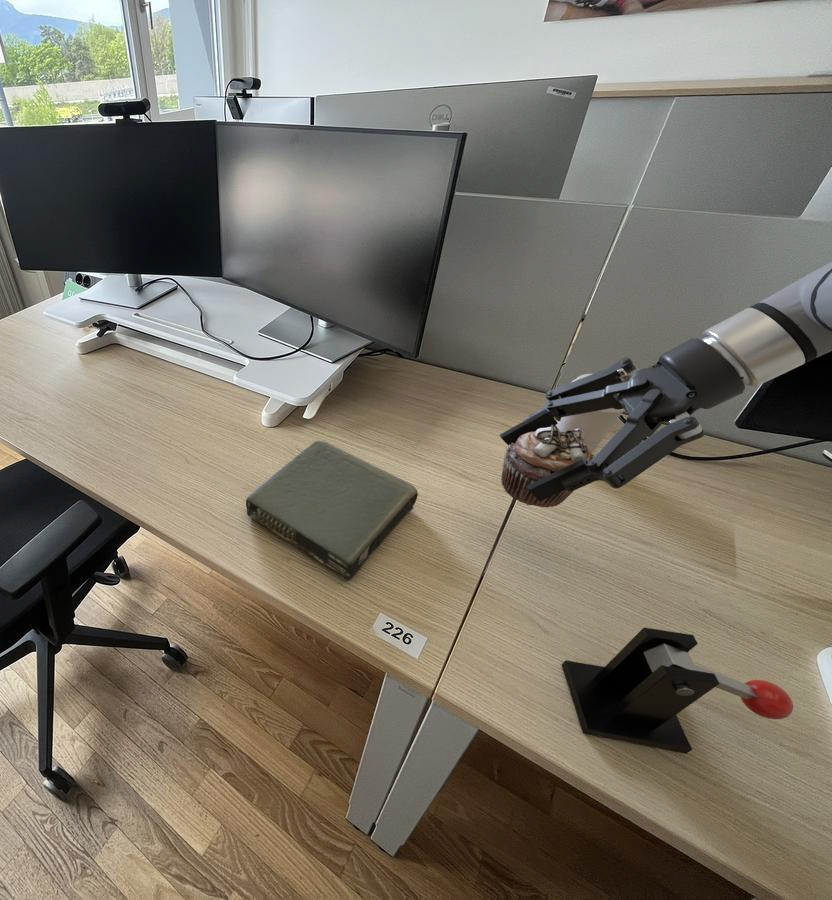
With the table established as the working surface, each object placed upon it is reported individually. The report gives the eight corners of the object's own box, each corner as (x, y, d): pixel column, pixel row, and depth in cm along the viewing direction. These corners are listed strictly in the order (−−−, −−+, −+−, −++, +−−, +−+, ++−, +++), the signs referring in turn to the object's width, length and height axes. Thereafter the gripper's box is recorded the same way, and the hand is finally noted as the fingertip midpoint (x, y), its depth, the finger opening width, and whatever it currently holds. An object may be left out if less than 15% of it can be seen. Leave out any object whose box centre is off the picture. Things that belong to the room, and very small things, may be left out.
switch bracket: (653, 680, 56) (717, 625, 48) (686, 754, 50) (766, 706, 42) (561, 664, 58) (607, 609, 50) (582, 733, 52) (639, 684, 44)
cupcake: (561, 468, 67) (590, 411, 60) (582, 517, 60) (619, 460, 53) (488, 461, 69) (510, 405, 62) (501, 508, 62) (527, 451, 55)
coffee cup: (528, 440, 91) (557, 374, 81) (574, 434, 91) (609, 368, 82) (559, 473, 84) (596, 405, 74) (610, 466, 84) (653, 398, 74)
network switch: (236, 526, 79) (234, 506, 76) (305, 451, 93) (305, 431, 90) (363, 594, 68) (367, 573, 64) (420, 497, 81) (426, 476, 78)
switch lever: (752, 693, 50) (788, 681, 48) (773, 728, 47) (813, 718, 45) (634, 647, 50) (665, 634, 47) (649, 681, 47) (683, 668, 45)
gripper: (820, 447, 43) (568, 545, 55) (673, 337, 60) (505, 431, 72) (795, 399, 40) (536, 514, 52) (648, 298, 57) (478, 402, 69)
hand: (518, 466), depth 62 cm, fingers closed on cupcake, 10 cm apart
